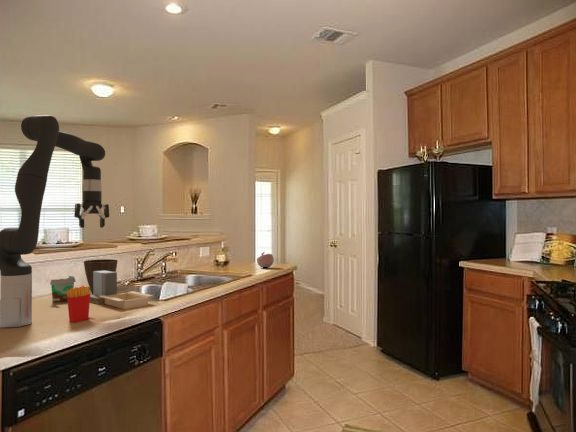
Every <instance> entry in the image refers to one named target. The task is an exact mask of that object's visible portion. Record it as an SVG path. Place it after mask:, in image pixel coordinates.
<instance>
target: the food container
mask: <svg viewBox="0 0 576 432" xmlns="http://www.w3.org/2000/svg"><path fill="white" fill-rule="evenodd" d="M75 283H76V277H75V276H73V275H69V276H68V277H67V278H59V279H50V284H49V285H51V287H50V288H51V297H52V303H65V302H66V303H68V301H67V297H68V295H67V292H66V291H67V290H68V289H69V290H70V289H71V288H75Z"/></svg>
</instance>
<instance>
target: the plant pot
mask: <svg viewBox="0 0 576 432" xmlns="http://www.w3.org/2000/svg"><path fill="white" fill-rule="evenodd" d="M83 267H84V268H83V269H84V272H85V276H86V281H87V285H88V286H89V291H90V292H91V295H92V294H93V271H104V270H105V271H111V272H117V268H118V259H111V258H110V259H107V258H106V259H100V258H99V259H87V260H83Z"/></svg>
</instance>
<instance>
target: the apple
mask: <svg viewBox="0 0 576 432" xmlns="http://www.w3.org/2000/svg"><path fill="white" fill-rule="evenodd" d="M274 258H275V257H274V255H273V254H272V253H265V251H263V252H261V255H259V256H258V257H257V258H256V263H257V265H258V266H259V267H260V268H262V267H269V268H270V267H272V266H273V264H274V262H275V261H274V260H275V259H274Z"/></svg>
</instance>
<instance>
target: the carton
mask: <svg viewBox="0 0 576 432" xmlns="http://www.w3.org/2000/svg"><path fill="white" fill-rule="evenodd" d="M99 297H102V298H105V303H104V304H105V305H108V306H111V307H115V308H119V309H123V310H126V309H127V310H128V309H133V308H139V307H145V306H149V298H152V297H154V295H152V294H148V293H143V292H138V291H134V290H131V291H128V292H124V293H119V294H115V295H108V296H106V295H103V296H99Z"/></svg>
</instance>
